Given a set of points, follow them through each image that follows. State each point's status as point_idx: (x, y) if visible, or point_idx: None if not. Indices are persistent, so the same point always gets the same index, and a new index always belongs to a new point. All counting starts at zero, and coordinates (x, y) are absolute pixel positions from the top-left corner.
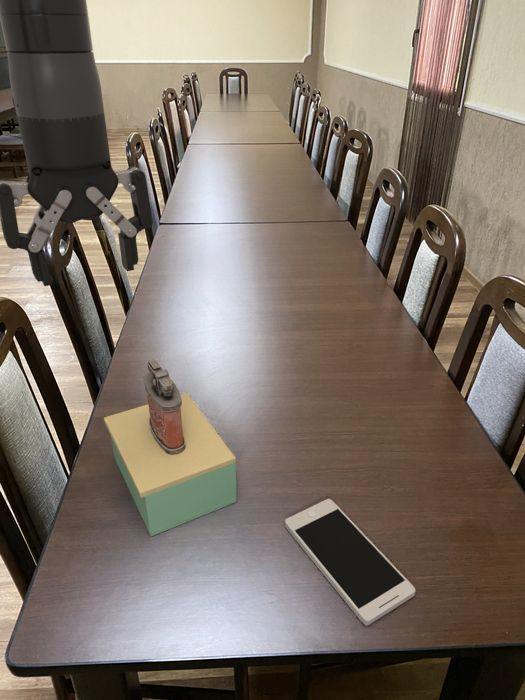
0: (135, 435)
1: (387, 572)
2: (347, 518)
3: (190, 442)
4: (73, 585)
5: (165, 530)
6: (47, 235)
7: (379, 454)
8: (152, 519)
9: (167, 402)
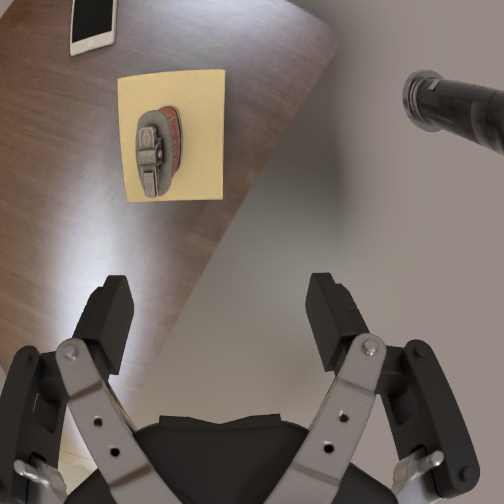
0: (200, 154)
1: None
2: (71, 33)
3: None
4: (293, 63)
5: None
6: (340, 376)
7: (18, 99)
8: None
9: (156, 120)
